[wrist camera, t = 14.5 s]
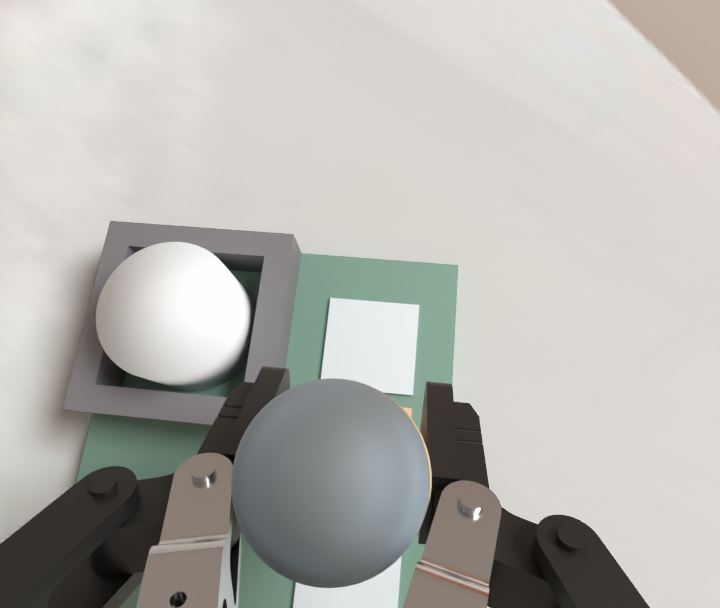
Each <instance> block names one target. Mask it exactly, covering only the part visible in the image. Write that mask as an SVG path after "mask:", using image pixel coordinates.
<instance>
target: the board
mask: <svg viewBox="0 0 720 608" xmlns="http://www.w3.org/2000/svg"><path fill="white" fill-rule="evenodd" d="M165 242H184V243H190V244H194V245H197V246H200V247H202V248H204V249H206V250H208V251H209V252H211V253H212V254H214V255H215V256H216V257H217V258H218V259H219V260H220V261H221V262H222V263H223V264H224V265H225V266H226V267H227V269H228V270H229V271H230V272H231V273H232V274H233V276H234V277H235V278H236V279H237V280H238V281H239V283H240V284H241V285H242V286H243V287H244V288H245V290H246V291H247V292H248V293H249V295H250V296H251V298H252V299H253V301H254V303H255V305H256V312H255V318H254V324H253V330H252V337H251V343H250V349H249V355H248V361H247V364H246V365H245V366H244V367H243V368H242V370H241V371H240V372H239V373H237V374H236V375H235V376H234V377H233V378H231V379H230V380H228V381H227V382H225V383H223V384H221V385H219V386H217V387H214V388H211V389H207V390H201V391H186V390H180V389H177V388H174V387H170V386H167V385H164V384H161V383H158V382H154V381H151V380H148V379H145V378H142V377H139V376H135V375H132V374H130V373H128V372H126V371H124V370H123V369H122V368H120V367H119V366H117V365H116V364H115V363H114V362H113V361H112V360H111V359H110V358H109V356H108V355H107V354H106V352H105V351H104V349H103V347H102V345H101V343H100V340H99V338H98V333H97V329H96V309H97V304H98V300H99V297H100V293H101V291H102V289H103V287H104V285H105V283H106V281H107V280H108V278H109V277H110V275H111V274H112V273H113V271H114V270H115V269H116V268H117V267H118V266H119V265H120V264H121V263H122V262H123V261H124V260H126V259H127V258H128V257H130V256H131V255H133V254H134V253H136V252H138V251H140V250H142V249H144V248H146V247H149V246H152V245H155V244H159V243H165ZM457 277H458V265H448V264H435V263H422V262H408V261H395V260H382V259H369V258H355V257H342V256H329V255H316V254H303V253H301V251H300V249H299V246H298V244H297V242H296V239H295V237H294V235H293V234H282V233H268V232H254V231H241V230H227V229H213V228H199V227H186V226H172V225H158V224H145V223H131V222H117V221H110V224H109V228H108V232H107V236H106V240H105V243H104V247H103V251H102V255H101V259H100V263H99V267H98V271H97V275H96V279H95V283H94V287H93V291H92V294H91V298H90V302H89V306H88V310H87V314H86V318H85V322H84V326H83V330H82V334H81V338H80V341H79V345H78V349H77V353H76V357H75V361H74V365H73V369H72V373H71V377H70V381H69V385H68V389H67V392H66V396H65V400H64V404H63V408H62V410H70V411H77V412H84V413H91V414H92V417H91V422H90V426H89V430H88V434H87V438H86V442H85V447H84V451H83V455H82V459H81V463H80V468H79V472H78V476H77V480H76V483H77V482H79V481H80V480H81V479H82V478H84V477H85V476H86V475H88V474H90V473H91V472H93V471H96V470H98V469H101V468H104V467H109V466H121V467H126V468H128V469H130V470H132V471H133V472H134V474H135V475H136V478H137V480H142V479H148V478H155V477H161V476H166V475H169V474H172V473H175V471H176V470H177V468H178V467H179V466H180V465H181V464H182V463H183V462H184V461H185V460H187V459H189V458H190V457H192V456H195V455H197V453H198V451H199V449H200V447H201V445H202V443H203V442H204V440H205V438H206V436H207V434H208V432H209V430H210V428H211V427H212V425H213V423H214V421H215V419H216V418H217V417H218V413H219V412H220V410H221V408H222V407H223V404H224V402H225V400H226V398H227V397H228V395H229V393H230V392H231V391H232V390H233V389H234V388H236V387H237V386H238V385H239V384H240V383H242V382H252V383H254V382H255V380H256V378H257V376H258V374H259V372H260V370H261V368H262V367H263V366H268V367H278V368H288V369H289V373H290V388H292V387H294V386H297V385H300V384H302V383H305V382H309V381H313V380H318V379H328V378H335V379H347V380H353V381H357V382H360V383H363V384H366V385H368V386H371V387H373V388H375V389H377V390H379V391H381V392H383V393H384V394H386V395H387V396H389V397H391V398H392V399H393V400H394V401H395V402H397V403H398V404H399V405H400V406H401V407H402V408H403V409H404V410H405V411H406V412H407V413H408V414H409V416H410V417H411V418H412V420H413V421H414V423H415V424H416V426H417V427H418V429H419V431H420V426H421V417H422V409H423V401H424V392H425V385H426V381H429V382H439V383H450V384H452V376H453V356H454V336H455V317H456V297H457ZM240 534H241V545H242V548H241V567H240V585H239V603H238V608H402V607H403V604H404V601H405V598H406V595H407V592H408V588H409V585H410V582H411V579H412V576H413V573H414V570H415V567H416V564H417V562H418V561H419V562H420V560H421V557H422V554H423V551H424V548H425V545H426V544H418V533H417V535H416V537H415V538H414V540H413V542H412V543H411V545H410V546H409V547H408V549H407V550H406V551H405V553H404V554H403V555H402V556H401V557H400V558H399V559H398V560H397V561H396V562H395V563H394V564H392V565H391V566H390V567H389V568H387V569H386V570H385V571H383V572H382V573H380V574H378V575H377V576H375V577H373V578H371V579H369V580H366V581H364V582H361V583H359V584H355V585H351V586H347V587H338V588H317V587H312V586H307V585H303V584H300V583H297V582H294V581H291V580H289V579H287V578H286V577H284V576H282V575H280V574H278V573H277V572H275V571H274V570H273V569H271V568H270V567H269V566H267V565H266V564H265V563H264V562H263V561H262V560H261V559H260V558H259V557H258V556H257V555H256V553H255V552H254V551H253V549H252V548H251V547H250V545H249V544H248V542H247V540H246V539H245V537H244V535H243V534H242V531H241V533H240ZM141 584H142V583H141ZM141 584H140V585H139V586H138V587H137V588H136V589H135V590H134V592H133V593H132V594H131V595H130V596H129V597H128V598H127V599H126V600H125V602H124V603H123V604H122V605H121V606H120V607H119V608H136V605H137V601H138V597H139V592H140V588H141Z"/></svg>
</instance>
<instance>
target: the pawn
mask: <svg viewBox="0 0 720 608" xmlns="http://www.w3.org/2000/svg"><path fill="white" fill-rule="evenodd" d="M231 488H232V500H233V507H234V511H235V515H236V518H237V522H238V524H239V526H240V529H241V531H242V534H243V535H244V537H245V539H246V540H247V542H248V544H249V545H250V547H251V548H252V549H253V551H254V552H255V553H256V555H257V556H258V557H259V558H260V559H261V560H262V561H263V562H264V563H265V564H266V565H267V566H269V567H270V568H271V569H273V570H274V571H275V572H277V573H278V574H280V575H282V576H284V577H286V578H287V579H289V580H291V581H294V582H297V583H300V584H303V585H307V586H312V587H317V588H338V587H347V586H351V585H355V584H359V583H361V582H364V581H366V580H369V579H371V578H373V577H375V576H377V575H378V574H380V573H382V572H383V571H385V570H386V569H387V568H389V567H390V566H391V565H392V564H394V563H395V562H396V561H397V560H398V559H399V558H400V557H401V556H402V555H403V554H404V553H405V551H406V550H407V549H408V547H409V546H410V545H411V543H412V542H413V540H414V538H415V537H416V535H417V533H418V531H419V530H420V528H421V526H422V524H423V521H424V518H425V516H426V513H427V510H428V506H429V502H430V496H431V488H432V472H431V464H430V458H429V454H428V451H427V447H426V444H425V442H424V439H423V437H422V435H421V433H420V431H419V429H418V427H417V426H416V424H415V423H414V421H413V420H412V418H411V417H410V416H409V414H408V413H407V412H406V411H405V410H404V409H403V408H402V407H401V406H400V405H399V404H398V403H397V402H395V401H394V400H393V399H392V398H391V397H389V396H387V395H386V394H384V393H383V392H381V391H379V390H377V389H375V388H373V387H371V386H368V385H366V384H363V383H360V382H357V381H353V380H347V379H335V378H328V379H318V380H313V381H309V382H305V383H302V384H300V385H297V386H294V387H292V388H290V389H288V390H286V391H285V392H283V393H281V394H280V395H278V396H277V397H275V398H274V399H272V400H271V401H270V402H269V403H268V404H267V405H266V406H265V407H263V408H262V409H261V410H260V412H259V413H258V414H257V415H256V416H255V417H254V419H253V420H252V422H251V423H250V425H249V426H248V428H247V429H246V431H245V433H244V435H243V437H242V439H241V441H240V443H239V446H238V449H237V452H236V455H235V459H234V464H233V470H232V479H231Z"/></svg>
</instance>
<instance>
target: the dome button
mask: <svg viewBox="0 0 720 608" xmlns="http://www.w3.org/2000/svg"><path fill="white" fill-rule="evenodd" d="M255 312H256V305H255V303H254V301H253V299H252V298H251V296H250V295H249V293H248V292H247V291H246V290H245V288H244V287H243V286H242V285H241V284H240V283H239V281H238V280H237V279H236V278H235V277H234V276H233V274H232V273H231V272H230V271H229V270H228V269H227V267H226V266H225V265H224V264H223V263H222V262H221V261H220V260H219V259H218V258H217V257H216V256H215V255H214V254H212V253H211V252H209V251H208V250H206V249H204V248H202V247H200V246H197V245H194V244H190V243H184V242H165V243H159V244H155V245H152V246H149V247H146V248H144V249H142V250H140V251H138V252H136V253H134V254H133V255H131V256H130V257H128V258H127V259H126V260H124V261H123V262H122V263H121V264H120V265H119V266H118V267H117V268H116V269H115V270H114V271H113V273H112V274H111V275H110V277H109V278H108V280H107V281H106V283H105V285H104V287H103V289H102V291H101V293H100V297H99V300H98V304H97V309H96V329H97V333H98V338H99V340H100V343H101V345H102V347H103V349H104V351H105V352H106V354H107V355H108V356H109V358H110V359H111V360H112V361H113V362H114V363H115V364H116V365H117V366H119V367H120V368H122V369H123V370H124V371H126V372H128V373H130V374H132V375H135V376H139V377H142V378H145V379H148V380H151V381H154V382H158V383H161V384H164V385H167V386H170V387H174V388H177V389H180V390H186V391H201V390H207V389H211V388H214V387H217V386H219V385H221V384H223V383H225V382H227V381H228V380H230V379H231V378H233V377H234V376H235V375H236V374H237V373H239V372H240V371H241V370H242V368H243V367H244V366H245V365H246V364H247V361H248V355H249V349H250V343H251V337H252V330H253V324H254V318H255Z"/></svg>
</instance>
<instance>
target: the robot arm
mask: <svg viewBox="0 0 720 608" xmlns="http://www.w3.org/2000/svg"><path fill="white" fill-rule="evenodd" d="M288 389H290V373H289V369H288V368H278V367H268V366H263V367H262V368H261V370H260V372H259V374H258V376H257V378H256V380H255V382H254V383H252V382H242V383H240V384H239V385H238V386H237V387H236V388H234V389H233V390H232V391H231V392H230V393H229V395H228V397H227V398H226V400H225V402H224V404H223V407H222V408H221V410H220V412H219V413H218V417H217V418H216V419H215V421H214V423H213V425H212V427H211V428H210V430H209V432H208V434H207V436H206V438H205V440H204V442H203V443H202V445H201V447H200V449H199V451H198V453H197V455H195V456H192V457H190V458H189V459H187V460H185V461H184V462H183V463H182V464H181V465H180V466H179V467H178V468H177V470H176V471H175V473H172V474H169V475H166V476H161V477H155V478H148V479H142V480H137V478H136V475H135V474H134V472H133V471H132V470H130V469H128V468H126V467H121V466H109V467H104V468H101V469H98V470H96V471H93V472H91V473H90V474H88V475H86V476H85V477H84V478H82V479H81V480H80V481H79V482H77V483H76V484H75V485H74V486H72V487H71V488H70V489H69V490H67V491H66V492H65V493H64V494H62V495H61V496H60V497H59V498H57V499H56V500H55V501H54V502H52V503H51V504H50V505H49V506H47V507H46V508H45V509H44V510H42V511H41V512H40V513H39V514H37V515H36V516H35V517H34V518H32V519H31V520H30V521H29V522H27V523H26V524H25V525H24V526H22V527H21V528H20V529H19V530H17V531H16V532H15V533H14V534H12V535H11V536H10V537H9V538H7V539H6V540H5V541H4V542H2V543H1V544H0V608H119V607H120V606H121V605H122V604H123V603H124V602H125V600H126V599H127V598H128V597H129V596H130V595H131V594H132V593H133V592H134V590H135V589H136V588H137V587H138V586H139V585H140V584H141V583H142V584H141V588H140V592H139V597H138V601H137V605H136V608H238V603H239V585H240V567H241V548H242V545H241V534H240V533H241V529H240V526H239V524H238V522H237V518H236V515H235V511H234V507H233V500H232V488H231V479H232V470H233V464H234V459H235V455H236V452H237V449H238V446H239V443H240V441H241V439H242V437H243V435H244V433H245V431H246V429H247V428H248V426H249V425H250V423H251V422H252V420H253V419H254V417H255V416H256V415H257V414H258V413H259V412H260V410H261V409H262V408H263V407H265V406H266V405H267V404H268V403H269V402H270V401H271V400H272V399H274V398H275V397H277V396H278V395H280V394H281V393H283V392H285V391H286V390H288ZM420 433H421V435H422V437H423V439H424V442H425V444H426V447H427V451H428V454H429V458H430V464H431V472H432V488H431V496H430V502H429V506H428V510H427V513H426V516H425V518H424V521H423V524H422V526H421V528H420V530H419V531H418V544H426V545H425V548H424V551H423V554H422V557H421V560H420V562H419V561H418V562H417V564H416V567H415V570H414V573H413V576H412V579H411V582H410V585H409V588H408V592H407V595H406V598H405V601H404V604H403V607H402V608H487V606H488V607H490V608H650V607H649V606H648V605H647V603H646V602H645V601H644V599H643V598H642V596H641V595H640V594H639V592H638V591H637V589H636V588H635V587H634V585H633V584H632V582H631V581H630V580H629V578H628V577H627V575H626V574H625V573H624V571H623V570H622V569H621V567H620V566H619V564H618V563H617V562H616V560H615V559H614V557H613V556H612V555H611V553H610V552H609V550H608V549H607V548H606V546H605V545H604V544H603V542H602V541H601V539H600V538H599V537H598V535H597V534H596V533H595V532H594V531H593V530H592V529H591V528H590V527H589V526H587V525H586V524H585V523H583V522H581V521H580V520H578V519H575V518H573V517H570V516H565V515H551V516H548V517H546V518H544V519H543V520H541V522H540V523H539V524H535V523H533V522H530V521H527V520H525V519H522V518H520V517H517V516H515V515H513V514H511V513H509V512H508V511H506V510H505V509H504V508H502V507H501V504H500V502H499V500H498V498H497V496H496V495H495V494H494V493H493V492H492V491H491V490H490V489H489V484H488V477H487V470H486V463H485V456H484V449H483V445H482V435H481V428H480V421H479V416H478V415H477V413H476V412H475V410H474V409H473V408H472V406H471V405H470V403H460V402H454V401H453V389H452V384H450V383H439V382H429V381H426V385H425V392H424V401H423V409H422V417H421V426H420Z"/></svg>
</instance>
